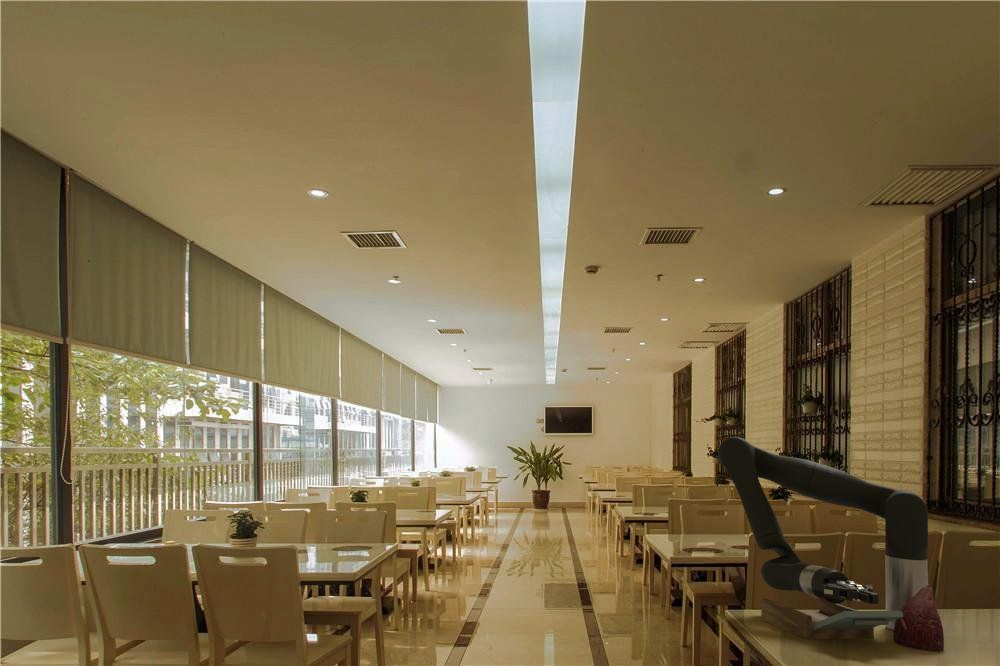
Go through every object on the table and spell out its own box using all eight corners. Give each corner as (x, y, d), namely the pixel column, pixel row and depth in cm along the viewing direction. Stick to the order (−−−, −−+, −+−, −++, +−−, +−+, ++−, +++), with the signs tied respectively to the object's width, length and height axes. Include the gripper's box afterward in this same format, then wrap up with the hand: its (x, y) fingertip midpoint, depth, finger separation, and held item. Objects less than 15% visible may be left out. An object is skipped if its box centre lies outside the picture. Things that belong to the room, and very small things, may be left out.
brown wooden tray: (823, 619, 197) (823, 598, 197) (873, 638, 179) (873, 615, 180) (761, 619, 193) (761, 598, 193) (806, 639, 175) (806, 616, 176)
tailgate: (866, 623, 180) (901, 610, 170) (870, 635, 178) (905, 622, 169) (812, 624, 176) (844, 611, 166) (815, 635, 175) (848, 623, 165)
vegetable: (930, 655, 180) (942, 590, 183) (951, 662, 170) (963, 593, 173) (883, 639, 181) (896, 575, 185) (901, 645, 171) (914, 577, 175)
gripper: (799, 567, 184) (849, 581, 167) (847, 567, 187) (901, 581, 170) (799, 600, 183) (849, 617, 166) (848, 599, 186) (902, 617, 169)
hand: (875, 599), depth 168 cm, fingers closed
